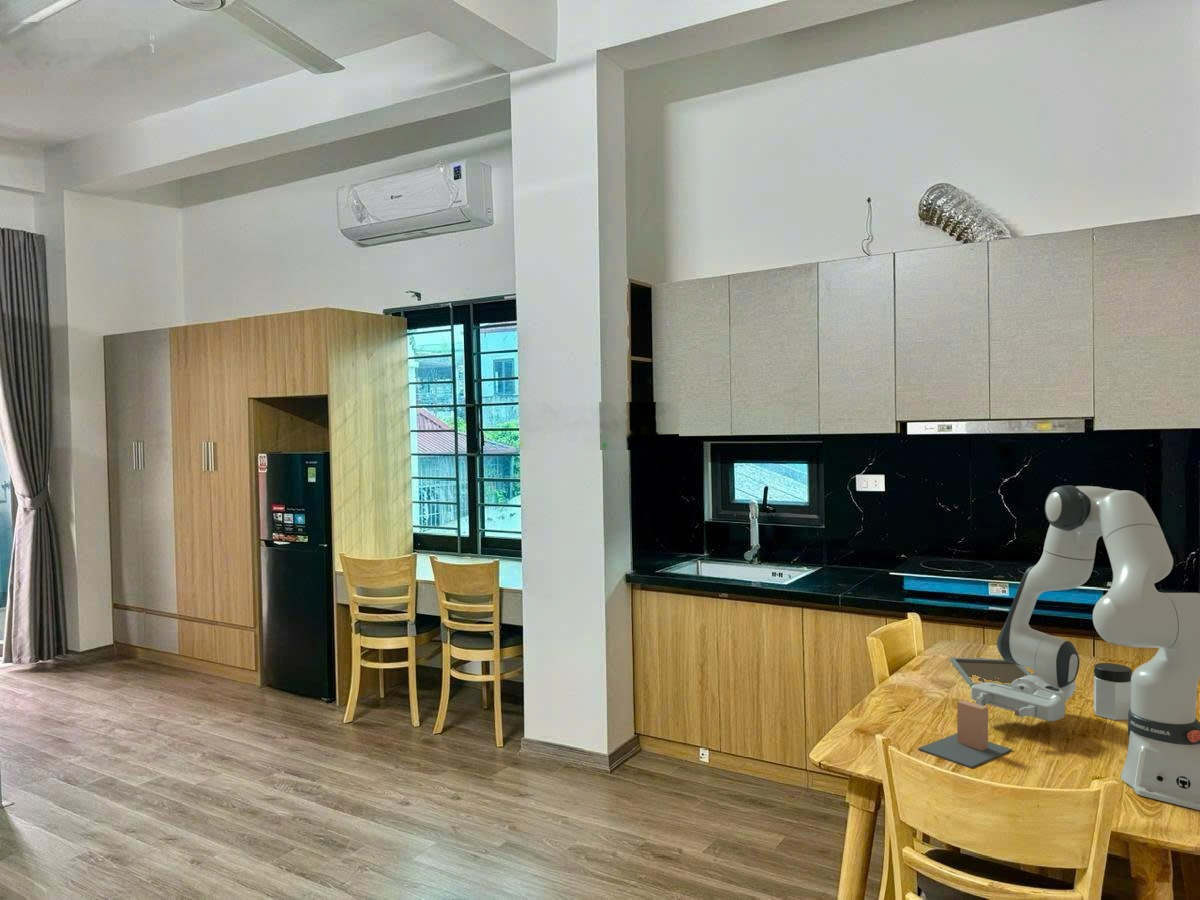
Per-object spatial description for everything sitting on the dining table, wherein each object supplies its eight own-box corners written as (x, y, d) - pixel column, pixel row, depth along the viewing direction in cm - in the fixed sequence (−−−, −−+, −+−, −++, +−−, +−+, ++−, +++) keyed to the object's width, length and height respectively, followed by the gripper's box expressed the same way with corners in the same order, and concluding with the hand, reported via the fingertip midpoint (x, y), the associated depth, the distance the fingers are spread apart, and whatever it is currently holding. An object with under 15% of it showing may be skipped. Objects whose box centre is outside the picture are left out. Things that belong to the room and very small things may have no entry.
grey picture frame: (970, 684, 238) (948, 654, 268) (970, 690, 238) (948, 660, 268) (1045, 687, 235) (1014, 657, 264) (1045, 693, 235) (1014, 662, 264)
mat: (1012, 750, 193) (1012, 749, 193) (971, 768, 184) (971, 766, 184) (958, 734, 204) (958, 732, 204) (918, 749, 195) (918, 748, 195)
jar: (1117, 708, 220) (1118, 661, 219) (1141, 719, 212) (1141, 671, 211) (1084, 710, 219) (1085, 663, 219) (1106, 721, 211) (1107, 672, 211)
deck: (963, 740, 199) (963, 700, 198) (988, 748, 194) (988, 706, 194) (957, 742, 197) (957, 702, 197) (982, 750, 192) (982, 709, 192)
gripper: (988, 672, 218) (957, 683, 210) (1071, 693, 201) (1040, 705, 193) (988, 697, 218) (957, 708, 210) (1071, 719, 202) (1040, 733, 194)
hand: (997, 707), depth 202 cm, fingers open, 8 cm apart
